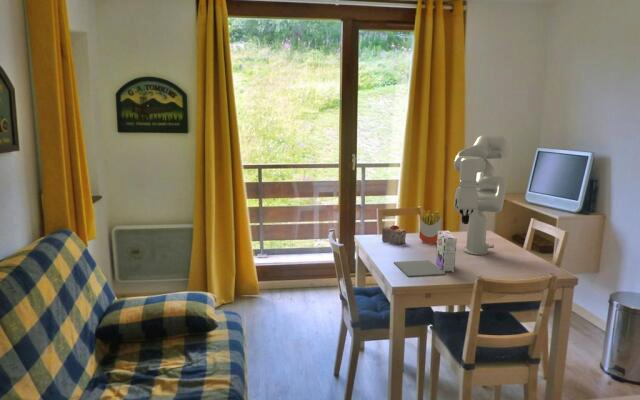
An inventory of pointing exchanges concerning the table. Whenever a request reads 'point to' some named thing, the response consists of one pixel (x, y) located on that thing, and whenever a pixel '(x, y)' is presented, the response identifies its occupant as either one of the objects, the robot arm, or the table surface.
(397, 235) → the food item
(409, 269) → the mat
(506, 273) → the table surface
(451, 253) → the candy box
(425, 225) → the french fries container
